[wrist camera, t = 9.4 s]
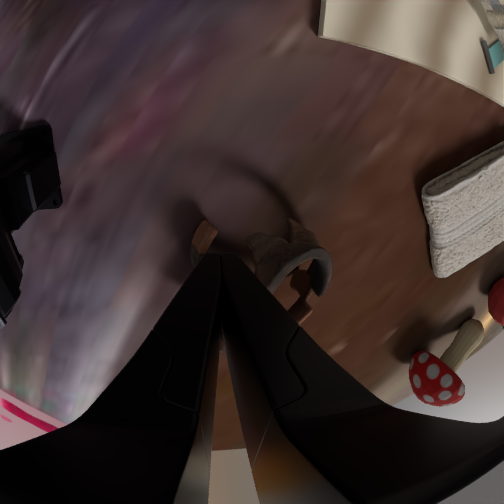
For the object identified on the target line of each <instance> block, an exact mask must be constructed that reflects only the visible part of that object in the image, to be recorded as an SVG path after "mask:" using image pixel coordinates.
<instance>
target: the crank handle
mask: <svg viewBox="0 0 504 504" xmlns="http://www.w3.org/2000/svg"><path fill="white" fill-rule="evenodd" d="M480 1H481V3H482V5H483V7H484V9H485V11H486V13H487V17H488V20H489V22H490V24H491V25H492V26H493V28H494V31H495V33H496V35H497V38H498V40H499V43H500V45H501V48H502V50H503V53H504V4H501V3H500V1H499V0H480Z"/></svg>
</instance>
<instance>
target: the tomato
mask: <svg viewBox="0 0 504 504" xmlns="http://www.w3.org/2000/svg"><path fill="white" fill-rule="evenodd" d="M488 309H489V313H490V314H491V316H492V317H493V319H494V320H495V321H496V322H497V323H499V324H500V325H502V326H503V329H504V277H503V278H501V279H500V280H498V281H496V282H495V284H494V285H493V287H492V289H491V291H490V293H489V295H488Z"/></svg>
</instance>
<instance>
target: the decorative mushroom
mask: <svg viewBox="0 0 504 504" xmlns="http://www.w3.org/2000/svg"><path fill="white" fill-rule="evenodd" d="M483 335H484V328H483V325H482V323H481V322H480V321H479V320H475V319H469V320H467V321H465V322H464V323H463V325H462V326H461V327H460V329H459V331H458V333H457V335H456V336H455V338H454V340H453V342H452V343H451V345H450V346H449V347H448V348H447V350H446V351H445V352H444V353H443V355H442V356H441V358H440V359H439V358H438V357H436V356H434V355H433V354H431V353H429V352H427V351H418V352H417V353H415V354H414V355H413V357H412V359H411V362H410V367H409V380H410V383H411V387H412V389H413V392H414V394H415V395H416V396H417V397H418V399H419V400H421V401H422V402H424V403H426V404H430V405H434V406H449V405H451V404H454V403H457V402H458V401H460V400H461V399H462V398H463V396H464V394H465V385H464V384H463V382H462V380H461V379H460V378H459V377H458V375H457V374H456V373H455V372H456V371H457V370H458V369H459V367H460V366H461V365H462V364H463V362H464V360H465V359H466V358H467V357H468V355H469V354H470V353H471V352H472V351H473V350H474V349H475V348H476V347H477V346H478V345H479V344H480V342H481V341H482V339H483Z"/></svg>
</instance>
